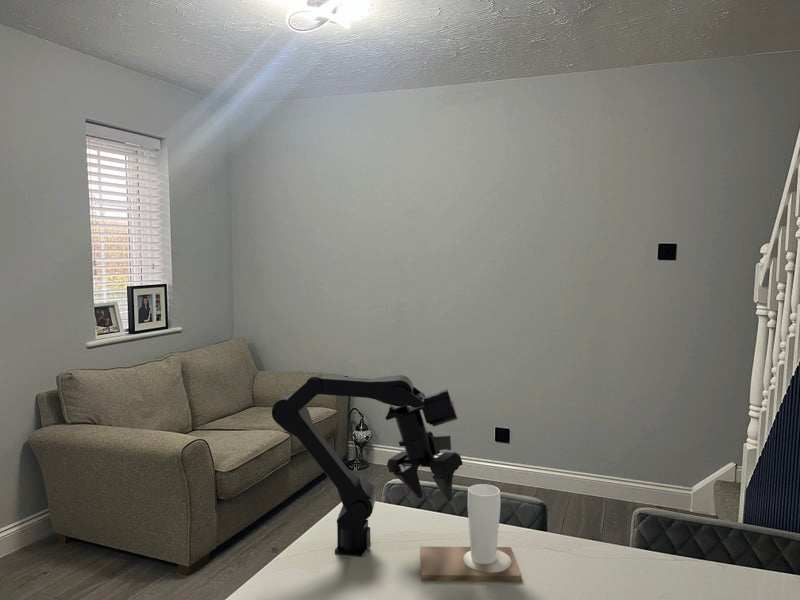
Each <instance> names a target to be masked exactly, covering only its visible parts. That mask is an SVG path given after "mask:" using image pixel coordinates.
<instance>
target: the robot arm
mask: <svg viewBox="0 0 800 600" xmlns="http://www.w3.org/2000/svg"><path fill="white" fill-rule="evenodd" d="M319 395H325V396H337V397H349V398H350V397H352V398H361V399H362V398H364V399H365V398H366V399H372V400H375V401H377V402H380V403H382V404H386V405H389V408H388V411H387V413H386V416H385V420H386V421H389V420H391V419H395V422H396V426H397V429H398V431H399V434H400V438H401V440H400V441H398V445H399V447H404V451H402V450H401V451H400V452H399V453H397V454H395V455H393V456H392V457H390V458H388V460H387V462H386V463H387V464H386V466H387V469H388V473H393V476H394V477H396V478H398V480H400V481H401V482H402V483H403V484H404V485H405V486H406V487H407V488H408V489H409V490H410V491H411V492H412V494H414V495H415V496H416V497H417V498H418V499H421V498H423V489H422V486H421V483H420V482H421V481H420V478H419V476H418V474H419V473H418V471H419V470H418V469H419V468H420V467H421V468H423V467H424V468H429V469H430V472H431V473H432V474H433V476H432V479H433V481H434V482H435V485H437V488H438V489H439V491H440V493H441V494H442V496H443V498H444V499H445V500H446V502H448V503H449V502H451V501H452V499H453V498H452V497H453V496H452V494H453V477H454V474H455V472H456V471H457V470H459V468H460V467H461V466H462V465H463V460H462V457H461V455H460V453H457V452H447V451H451V450H452V441H451V439H452V438H451V435H434V433H433V432H432V431H429V430H428V431H427V428H426V425H425V423H426V424H429V426H431V425H432V427H436V426H437V427H438V426H440V425H444V424H448V423H451V422H453V421H457V420H459V419H458V415H457V411H456V407H455V404H454V401H453V400H452V398H451V396H450V395H451V394H450V393H449V390H448V389H443V390H440V391H439V392H436V393H433V394H430V395H426V394H425V393H423V392H422V391H421V390H419V389H418V388H417V387H415V386H414V384H413V382H412V379H410V378H409V377H408V376H406V375H403V374H401V375H398V374H397V375H390V376H389V375H388V376H381V377H378V378H364V377H352V376H351V377H350V376H336V375H325V374H324V375H323V374H321V373H314V374H313V375H311V376H310V377H309V378H308V379H307V380H306V382H305V383H304V384H303V385H302V386H301V387H300V388H299V389H297V390H296V391H295V392H294V393H287V394H284V395H283V396H282V397H281V398H280V399H278V400H277V401H276V402H275V403H274V404H273V405H272V408H271V417H272V419H273V421H274V422H275V423H276V424H277V425H278V426H279V427H280V428H282V429H283V430H284V431H285V432H286V433H288V434H290V435H291V436H294V437H295V438H297V439H298V441H300V443H301V445H303V447H304V448H305V450H306V451H307V452H308V453H309V455H310V456H311V457H312V458H313V460H314V461H315V462H316V463H317V465H318V466H319V468H321V470H322V471H323V472H324V473H325V475H326V476H327V477H328V479H329V480H330V482H331V483H332V484H333V485H334V486H335V488H336V490H337V492H338V496H339V498H340V501H341V503H342V506H341V508H340V512H339V514H338V517H337V519H336V527H337V529H336V531H337V532H336V533H337V539H336V540H337V542H336V543H337V544H336V545H337V546H336V548H335V549H334V553H335V554H342V555H347V556H357V557H363V556H364V554H365V553H366V551H368V549H369V547H370V546H371V544H372V543H371V527H370V526H369V518H370V517H371V516H372V514H373V511H374V508H375V503H376V500H377V499H376V498H377V495H376V492H375V485H373V484H371V483H370V481H369V480H368V478H367V476H366V475H365V474H364V473H363V474H361V475H360V476H357V475H356V474H353V473H352V472H351V471H350V469H349V468H348V466H347V465H346V464H345V463H344V461H343V460H342V459H341V458H340V457H339V455H338V454H337V452H336V451H335V450H334V449H333V447H332V446H331V445H330V444H329V442H328V441H327V440H326V439H325V437H324V436H323V435H322V434H321V432H320V431H319V430H318V428H317V427H316V425H315V424H314V422H313V420H312V416H311V414H310V411H309V409H308V407H307V404H309V402H311V401H312V400H313V399H314V398H315V397H316V396H319ZM421 411H422V413H421ZM422 414H423V415H422ZM423 416H424V419H423ZM424 420H425V421H424ZM445 450H447V451H446V452H443V453H441V451H445ZM440 453H441V454H440ZM439 454H440V455H439ZM437 455H438V456H437ZM435 456H437V457H435Z"/></svg>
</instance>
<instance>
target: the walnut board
mask: <svg viewBox="0 0 800 600" xmlns="http://www.w3.org/2000/svg"><path fill="white" fill-rule="evenodd" d="M419 552H420V553H419V555H420V556H419V558H420V581H421V582H519V583H520V582H522V575H521V572H520V568H519V565H518V562H517V559H516V557H515V554H514V551H513V549H512V547H511V546H497V555H496V560H495V562H493V563H491V564H487V565H483V564H478V563H476V562H474V561H473V560H472V558H471V546H420V547H419Z"/></svg>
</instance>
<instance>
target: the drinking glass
mask: <svg viewBox="0 0 800 600" xmlns="http://www.w3.org/2000/svg"><path fill="white" fill-rule="evenodd" d="M467 516H468V528H469V540H470V541H469V543H470V547H471V558H472V560H473V561H474V562H476V563H478V564H483V565H487V564H491V563H493V562H495V560H496V555H497V547H498V538H499V526H500V516H501V491H500V488H498V487H497V486H495V485H492V484H488V483H487V484H486V483H477V484H473V485H470V486H469V487H468V489H467Z"/></svg>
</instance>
